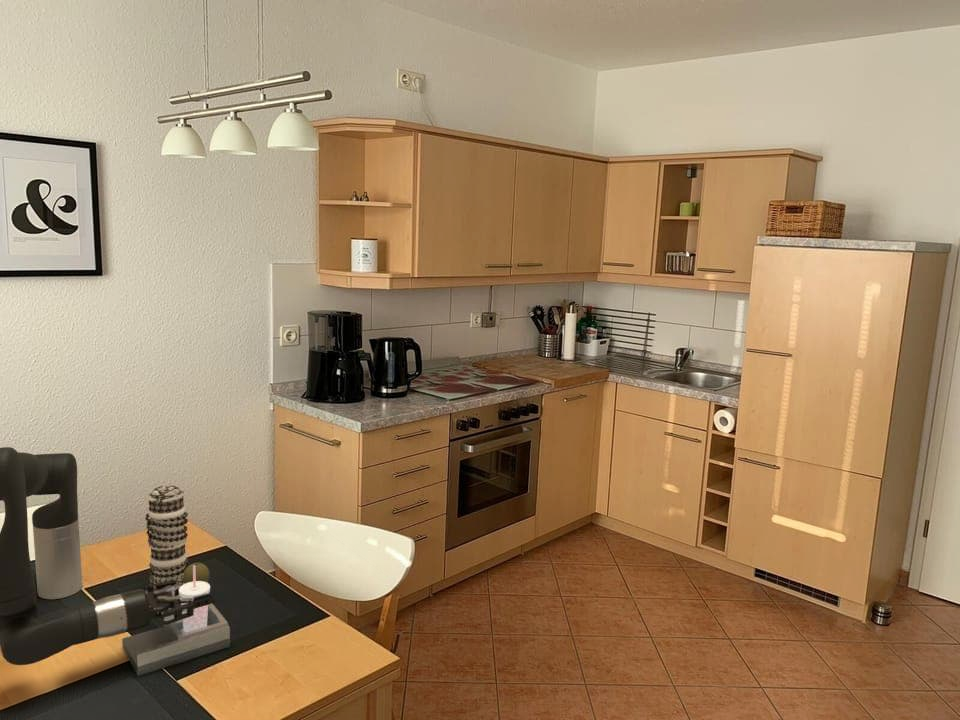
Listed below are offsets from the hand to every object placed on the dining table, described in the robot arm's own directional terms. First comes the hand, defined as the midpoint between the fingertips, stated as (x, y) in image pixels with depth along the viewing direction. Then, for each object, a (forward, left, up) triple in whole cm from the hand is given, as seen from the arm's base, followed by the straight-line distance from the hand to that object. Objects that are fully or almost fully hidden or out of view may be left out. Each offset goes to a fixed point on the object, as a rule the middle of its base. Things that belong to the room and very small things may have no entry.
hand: (206, 591), depth 156 cm
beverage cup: (0, -2, -8) cm, 8 cm away
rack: (0, -6, -11) cm, 12 cm away
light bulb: (-15, +3, -11) cm, 19 cm away
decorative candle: (-26, 0, -11) cm, 28 cm away
